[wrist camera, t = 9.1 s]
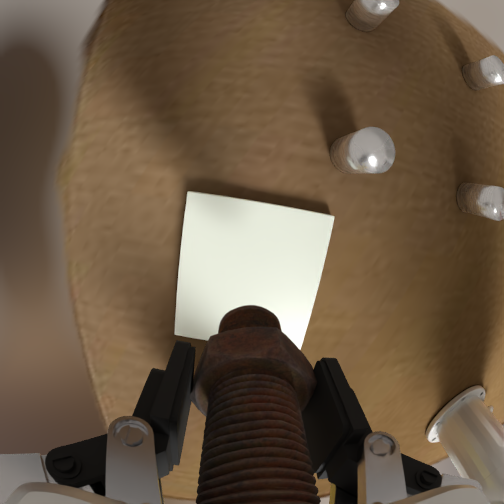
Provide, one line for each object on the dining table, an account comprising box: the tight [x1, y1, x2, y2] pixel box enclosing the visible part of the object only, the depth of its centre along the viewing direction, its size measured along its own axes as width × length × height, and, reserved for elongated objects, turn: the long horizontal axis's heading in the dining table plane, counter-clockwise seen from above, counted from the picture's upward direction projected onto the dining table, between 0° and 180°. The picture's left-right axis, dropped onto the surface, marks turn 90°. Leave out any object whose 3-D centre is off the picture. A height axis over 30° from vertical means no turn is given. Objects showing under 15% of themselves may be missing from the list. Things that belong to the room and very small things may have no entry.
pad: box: [175, 191, 334, 350], centre depth 22 cm, size 11×12×1 cm
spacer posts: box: [330, 0, 504, 221], centre depth 16 cm, size 17×17×5 cm
